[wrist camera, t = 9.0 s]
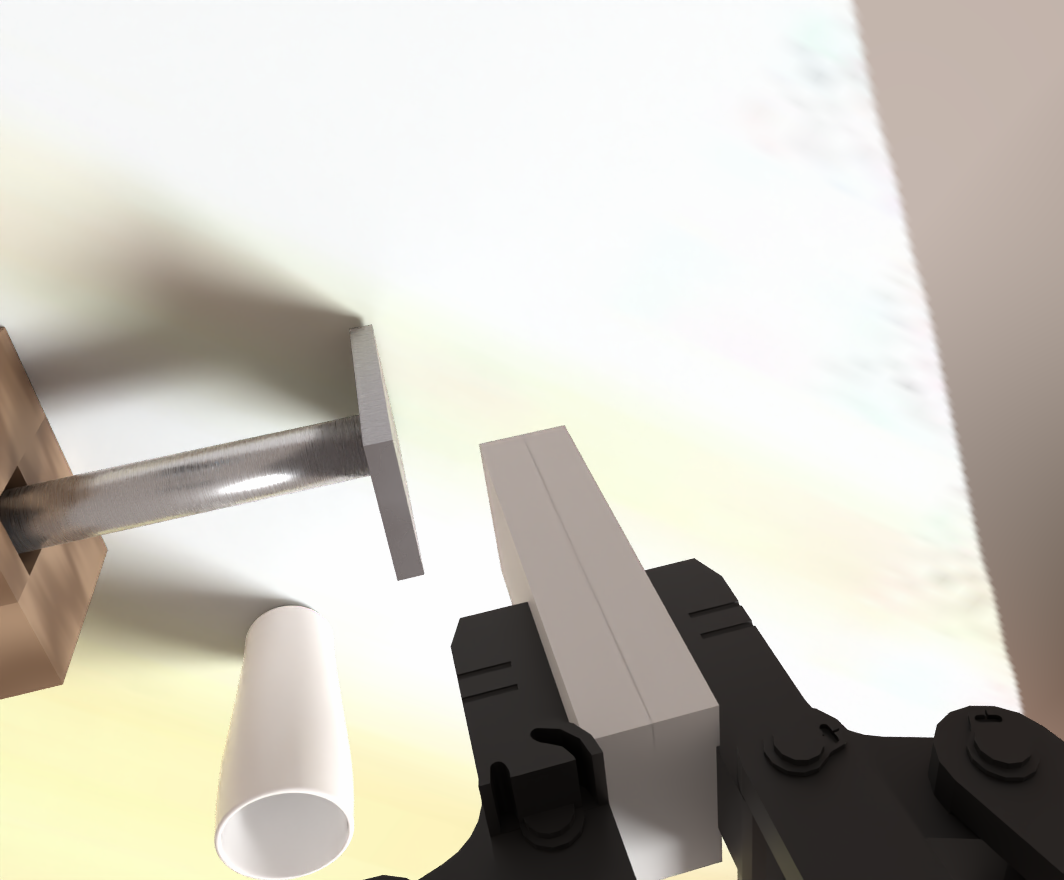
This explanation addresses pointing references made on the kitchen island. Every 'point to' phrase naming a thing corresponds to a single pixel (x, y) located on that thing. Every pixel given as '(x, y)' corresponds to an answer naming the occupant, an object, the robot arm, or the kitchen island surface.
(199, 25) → the kitchen island surface
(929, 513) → the kitchen island surface
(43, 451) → the bearing block
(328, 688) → the drinking glass
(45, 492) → the shaft
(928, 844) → the robot arm
